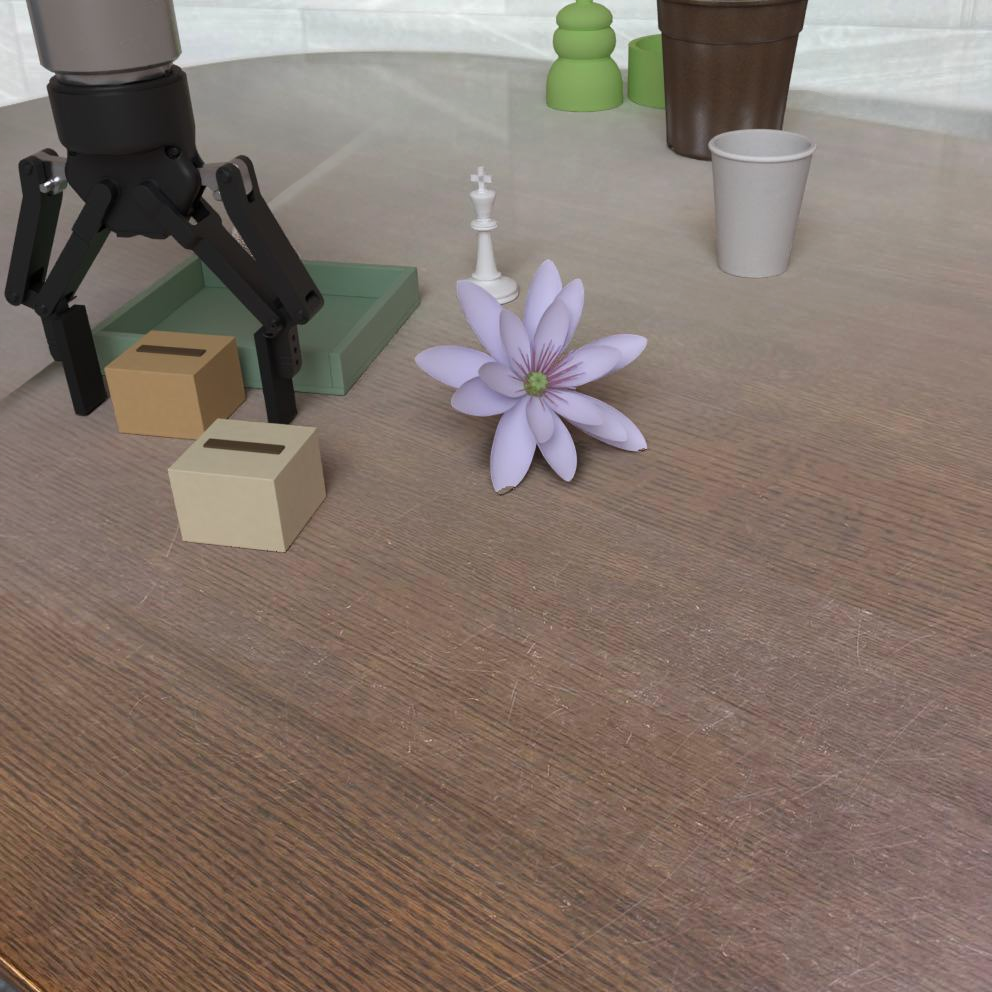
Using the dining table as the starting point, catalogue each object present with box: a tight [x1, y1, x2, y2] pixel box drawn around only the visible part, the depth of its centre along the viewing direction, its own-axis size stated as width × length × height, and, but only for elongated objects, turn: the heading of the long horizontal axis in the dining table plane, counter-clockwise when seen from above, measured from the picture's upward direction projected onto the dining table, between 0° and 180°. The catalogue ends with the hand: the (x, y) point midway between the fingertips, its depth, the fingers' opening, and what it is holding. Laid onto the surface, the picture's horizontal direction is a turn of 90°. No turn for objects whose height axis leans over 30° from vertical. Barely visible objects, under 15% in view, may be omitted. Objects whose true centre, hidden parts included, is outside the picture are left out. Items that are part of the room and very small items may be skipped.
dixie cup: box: [708, 129, 818, 279], centre depth 96 cm, size 8×8×10 cm
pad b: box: [104, 330, 247, 441], centre depth 77 cm, size 6×6×5 cm
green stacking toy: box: [545, 0, 665, 113], centre depth 146 cm, size 25×14×13 cm, turn 101°
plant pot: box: [656, 0, 809, 162], centre depth 125 cm, size 16×16×16 cm
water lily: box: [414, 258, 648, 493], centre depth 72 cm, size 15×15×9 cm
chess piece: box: [455, 165, 520, 305], centre depth 92 cm, size 5×5×10 cm
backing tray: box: [91, 252, 421, 396], centre depth 88 cm, size 19×17×3 cm
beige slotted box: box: [167, 418, 327, 553], centre depth 66 cm, size 6×6×5 cm
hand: (186, 414), depth 78 cm, fingers open, 13 cm apart
